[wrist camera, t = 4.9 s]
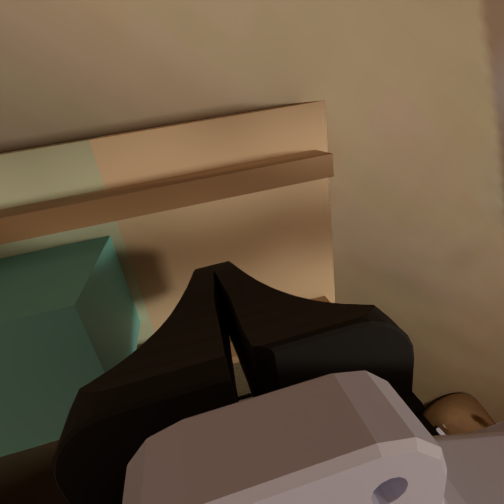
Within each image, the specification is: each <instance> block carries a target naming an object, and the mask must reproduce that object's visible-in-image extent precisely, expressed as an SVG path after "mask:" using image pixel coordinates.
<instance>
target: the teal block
mask: <svg viewBox="0 0 504 504" xmlns="http://www.w3.org/2000/svg"><path fill="white" fill-rule="evenodd" d="M140 322H141V321H140V319H139V316H138V313H137V310H136V307H135V304H134V302H133V299H132V296H131V293H130V290H129V288H128V285H127V282H126V279H125V276H124V273H123V271H122V268H121V265H120V262H119V259H118V257H117V254H116V251H115V248H114V245H113V242H112V240H111V237H110V236H105V237H101V238H96V239H91V240H86V241H82V242H77V243H72V244H67V245H63V246H58V247H53V248H48V249H44V250H39V251H34V252H29V253H24V254H20V255H15V256H10V257H5V258H1V259H0V457H1V456H5V455H8V454H12V453H15V452H19V451H22V450H25V449H29V448H32V447H36V446H39V445H43V444H46V443H49V442H53V441H56V440H59V439H60V436H61V433H62V431H63V428H64V425H65V422H66V419H67V416H68V414H69V411H70V408H71V406H72V404H73V402H74V399H75V397H76V395H77V393H78V391H79V389H80V388H81V387H83V386H85V385H87V384H88V383H90V382H91V381H93V380H94V379H96V378H98V377H99V376H101V375H102V374H104V373H105V372H107V371H108V370H110V369H112V368H113V367H114V366H116V365H117V364H119V363H120V362H121V361H123V360H124V359H125V358H127V357H128V356H129V355H130V354H132V353H133V352H134V351H135V350H136V349H137V342H138V336H139V329H140Z"/></svg>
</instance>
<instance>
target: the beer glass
mask: <svg viewBox="0 0 504 504" xmlns="http://www.w3.org/2000/svg"><path fill="white" fill-rule="evenodd" d="M422 414H423V415H424V416H425V417H426V418H427V420H428V421H429V422H430V423H431V424H432V426H433V427H434V428H435V429H436V430H437V432H438V433H439V434H440V435H450V434H461V433H472V432H474V431H477V430H480V429H483V428H486V427H488V426H491V425H494V424H496V423H495V422H494V420H493V419H492V418H491V416H490V415H489V414H488V413H487V411H486V410H485V409H484V407H483V406H482V405H481V404H480V403H479V401H478V400H477V399H476V398H475V397H473V396H471V395H469V394H466V393H455V394H450V395H447V396H445V397H442V398H440V399H438V400H437V401H435V402H433V403H432V404H431V405H429V406H428V407H427V408H426V409H425V410H424V413H422Z"/></svg>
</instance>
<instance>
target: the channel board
mask: <svg viewBox="0 0 504 504" xmlns="http://www.w3.org/2000/svg"><path fill="white" fill-rule="evenodd" d="M333 176H334V174H333V154H332V153H328V148H327V128H326V108H325V100H324V101H314V102H304V103H297V104H291V105H285V106H279V107H273V108H267V109H261V110H255V111H249V112H243V113H237V114H231V115H225V116H219V117H213V118H207V119H201V120H195V121H189V122H183V123H177V124H171V125H165V126H159V127H153V128H147V129H141V130H135V131H129V132H123V133H117V134H111V135H105V136H99V137H93V138H87V139H81V140H75V141H69V142H63V143H57V144H51V145H46V146H40V147H34V148H28V149H22V150H16V151H10V152H4V153H0V259H1V258H5V257H10V256H15V255H20V254H24V253H29V252H34V251H39V250H44V249H48V248H53V247H58V246H63V245H67V244H72V243H77V242H82V241H86V240H91V239H96V238H101V237H105V236H110V237H111V240H112V242H113V245H114V248H115V251H116V254H117V257H118V259H119V262H120V265H121V268H122V271H123V273H124V276H125V279H126V282H127V285H128V288H129V290H130V293H131V296H132V299H133V302H134V304H135V307H136V310H137V313H138V316H139V319H140V321H141V322H140V329H139V336H138V342H137V349H138V348H139V347H140V346H141V345H142V344H143V343H144V342H145V341H146V340H147V339H149V338H150V337H151V336H152V335H153V334H154V333H155V332H156V331H157V330H158V329H159V328H160V327H161V325H162V324H163V323H164V322H165V321H166V320H167V318H168V317H169V316H170V314H171V313H172V312H173V310H174V308H175V307H176V305H177V304H178V302H179V301H180V299H181V297H182V295H183V293H184V291H185V290H186V288H187V286H188V283H189V281H190V279H191V276H192V274H193V272H194V270H195V269H198V268H202V267H206V266H210V265H214V264H218V263H222V262H226V261H230V262H231V263H233V264H234V265H235V266H237V267H238V268H239V269H241V270H242V271H243V272H245V273H246V274H248V275H249V276H251V277H253V278H254V279H256V280H258V281H260V282H262V283H264V284H266V285H268V286H270V287H272V288H274V289H277V290H280V291H282V292H285V293H288V294H291V295H294V296H298V297H302V298H307V299H311V300H316V301H322V302H330V303H335V291H334V270H333V250H332V230H331V209H330V189H329V177H333ZM229 338H230V336H229ZM230 345H231V353H232V360H233V364H234V363H237V362H239V359H238V357H237V354H236V351H235V349H234V346H233V344H232V341H231V339H230Z"/></svg>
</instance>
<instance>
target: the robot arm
mask: <svg viewBox="0 0 504 504" xmlns="http://www.w3.org/2000/svg"><path fill="white" fill-rule="evenodd" d="M229 336H230V338H229ZM230 339H231V341H232V344H233V346H234V349H235V351H236V354H237V357H238V359H239V362H240V364H241V367H242V369H243V372H244V374H245V377H246V380H247V382H248V385H249V388H250V391H251V394H252V397H249V398H246V399H243V400H238V395H237V389H236V382H235V375H234V368H233V360H232V353H231V345H230ZM413 367H414V352H413V345H412V343H411V341H410V339H409V337H408V335H407V334H406V333H405V332H404V331H403V330H402V329H400V328H399V327H398V326H397V325H396V324H395V323H394V322H393V321H392V320H391V319H390V318H389V317H388V316H387V315H386V314H384V313H383V312H382V311H381V310H380V309H378V308H377V307H376V306H375V305H358V304H338V303H330V302H322V301H316V300H311V299H307V298H302V297H298V296H294V295H291V294H288V293H285V292H282V291H280V290H277V289H274V288H272V287H270V286H268V285H266V284H264V283H262V282H260V281H258V280H256V279H254V278H253V277H251V276H249V275H248V274H246V273H245V272H243V271H242V270H241V269H239V268H238V267H237V266H235V265H234V264H233V263H231V262H230V261H226V262H222V263H218V264H214V265H210V266H206V267H202V268H198V269H195V270H194V272H193V274H192V276H191V279H190V281H189V283H188V286H187V288H186V290H185V291H184V293H183V295H182V297H181V299H180V301H179V302H178V304H177V305H176V307H175V308H174V310H173V312H172V313H171V314H170V316H169V317H168V318H167V320H166V321H165V322H164V323H163V324H162V325H161V327H160V328H159V329H158V330H157V331H156V332H155V333H154V334H153V335H152V336H151V337H150V338H149V339H147V340H146V341H145V342H144V343H143V344H142V345H141V346H140V347H139V348H138V349H136V350H135V351H134V352H133V353H132V354H130V355H129V356H128V357H127V358H125V359H124V360H123V361H121V362H120V363H119V364H117V365H116V366H114V367H113V368H112V369H110V370H108V371H107V372H105V373H104V374H102V375H101V376H99V377H98V378H96V379H94V380H93V381H91V382H90V383H88V384H87V385H85V386H83V387H81V388H80V389H79V391H78V393H77V395H76V397H75V399H74V402H73V404H72V406H71V408H70V411H69V414H68V416H67V419H66V422H65V425H64V428H63V431H62V433H61V436H60V439H59V442H58V445H57V448H56V451H55V454H54V457H53V467H52V474H53V477H54V479H55V482H56V484H57V486H58V488H59V490H60V491H61V493H62V494H63V495H64V497H65V498H66V500H67V501H68V503H69V504H504V421H502V422H499V423H497V424H494V425H491V426H488V427H486V428H483V429H480V430H477V431H474V432H472V433H461V434H450V435H440V434H439V433H438V432H437V430H436V429H435V428H434V427H433V426H432V424H431V423H430V422H429V421H428V420H427V418H426V417H425V416H424V415H423V414H422V413H424V406H423V404H422V402H421V401H420V400H419V399H418V398H417V397H416V396H415V394H414V393H413V392H412V383H413Z"/></svg>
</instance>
